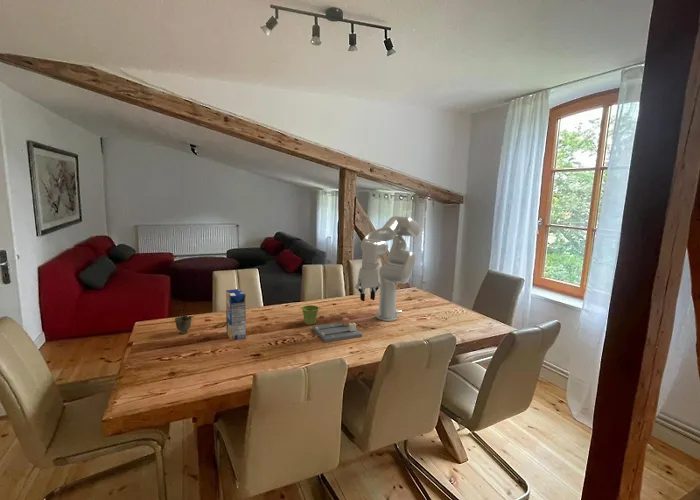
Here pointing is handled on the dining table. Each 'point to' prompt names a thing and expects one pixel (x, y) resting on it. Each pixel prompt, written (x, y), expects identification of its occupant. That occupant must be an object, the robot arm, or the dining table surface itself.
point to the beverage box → (236, 314)
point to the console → (335, 332)
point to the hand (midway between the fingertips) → (367, 299)
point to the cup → (183, 323)
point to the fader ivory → (352, 326)
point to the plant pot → (310, 314)
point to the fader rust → (345, 321)
